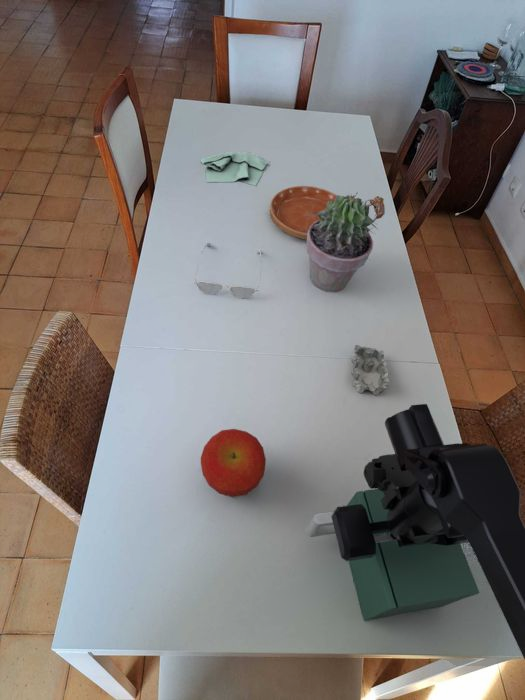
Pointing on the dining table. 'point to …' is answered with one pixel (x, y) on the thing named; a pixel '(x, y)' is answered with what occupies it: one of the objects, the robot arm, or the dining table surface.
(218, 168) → the cloth
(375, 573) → the cooler door
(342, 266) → the potted plant
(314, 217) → the saucer
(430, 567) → the box
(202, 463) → the apple
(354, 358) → the egg carton
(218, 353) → the dining table surface
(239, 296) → the eyeglasses
